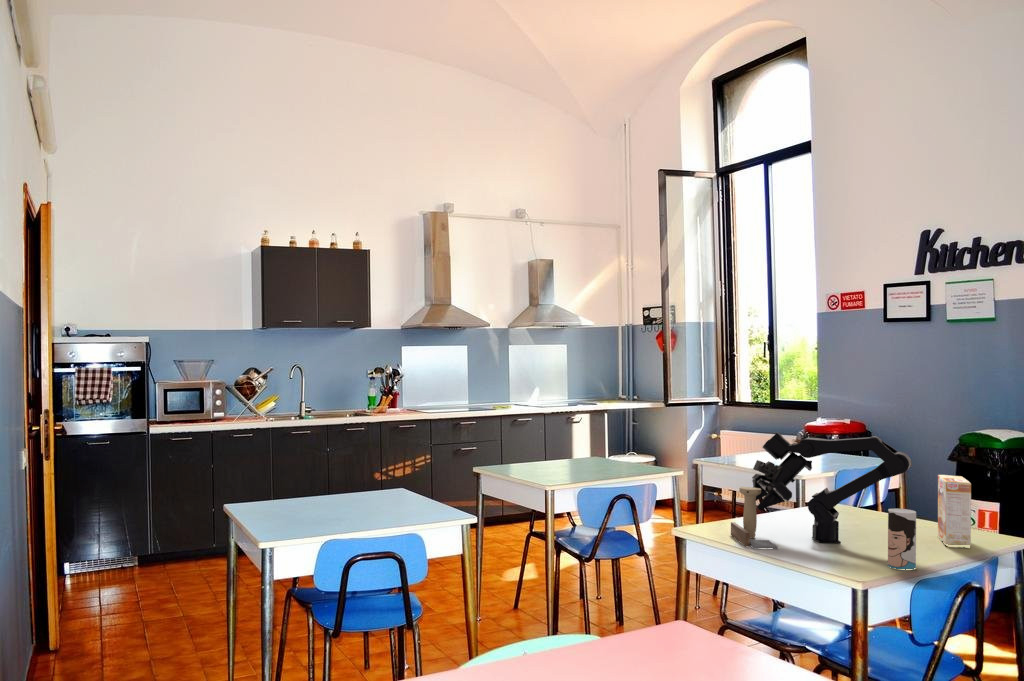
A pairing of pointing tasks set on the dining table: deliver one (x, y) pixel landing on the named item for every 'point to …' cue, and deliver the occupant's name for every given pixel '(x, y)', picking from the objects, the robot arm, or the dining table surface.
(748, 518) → the handle
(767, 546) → the end pad
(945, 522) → the coffeecake box
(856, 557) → the dining table surface
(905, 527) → the cup
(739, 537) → the walnut fence
